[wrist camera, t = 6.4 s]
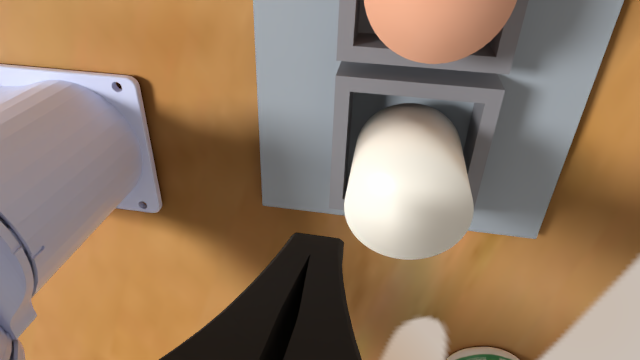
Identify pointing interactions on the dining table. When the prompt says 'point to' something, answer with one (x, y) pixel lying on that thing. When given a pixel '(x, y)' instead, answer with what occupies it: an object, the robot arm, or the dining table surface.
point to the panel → (426, 101)
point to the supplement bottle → (482, 354)
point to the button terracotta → (437, 26)
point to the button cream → (408, 184)
